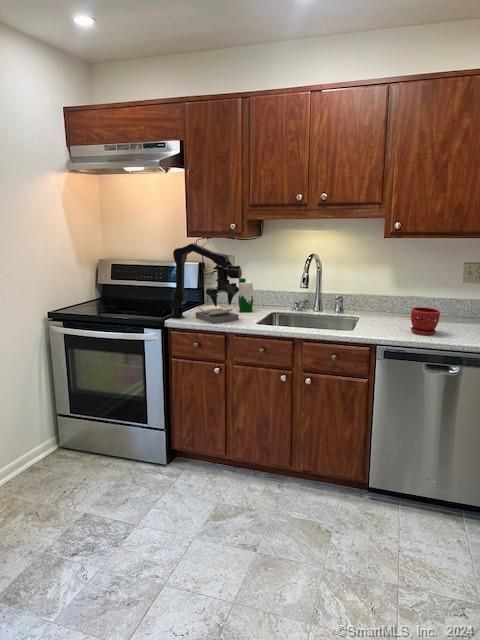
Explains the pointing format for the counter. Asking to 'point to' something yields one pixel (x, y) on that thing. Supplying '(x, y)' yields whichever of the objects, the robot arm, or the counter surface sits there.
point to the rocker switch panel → (217, 317)
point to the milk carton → (245, 295)
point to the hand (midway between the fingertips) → (222, 305)
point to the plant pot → (424, 320)
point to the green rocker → (220, 312)
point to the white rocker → (210, 308)
